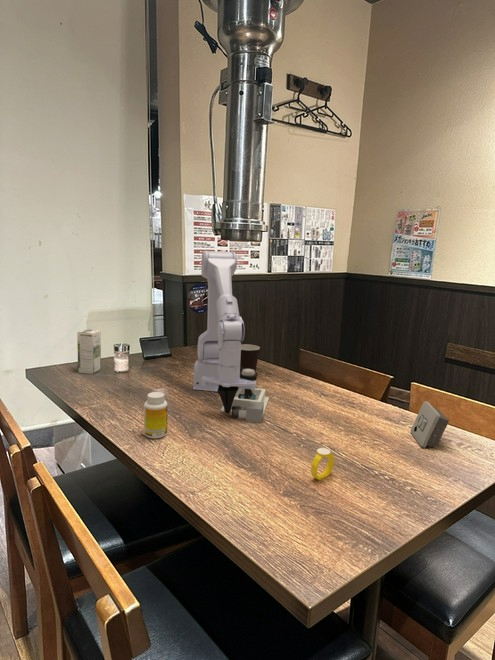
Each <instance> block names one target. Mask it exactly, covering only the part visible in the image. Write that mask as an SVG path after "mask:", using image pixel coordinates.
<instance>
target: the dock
mask: <svg viewBox="0 0 495 660" xmlns="http://www.w3.org/2000/svg"><path fill="white" fill-rule="evenodd" d="M241 391H242V388H239V389H238V391H237V393H236V395H235V397H234V400H233V403H232V406H240V407H244V408H246V419H245V422H249V423H256V424H257V423H258V424H261V423H262V421H261V416H262V409H263V416H264V414H265V411H266V408H267V405H268V402H269V399H270V398H269V396H266V389H265V388H260V387H259V388H255V390H254V393H253V394H255V395H256V397H257V396H259V398H256V399H258V400H249V399H239V398H238V395H239V394H241ZM232 406H231V411H230V413H229V414H232ZM220 413H225V411H224V406H223V405H222V407H221V408H220Z"/></svg>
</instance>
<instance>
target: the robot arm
mask: <svg viewBox="0 0 495 660" xmlns="http://www.w3.org/2000/svg"><path fill="white" fill-rule="evenodd" d="M237 266H238V257H237V253H236V252H235V251H216V250H215V251H213V250H204V251H203V252H202V254H201V266H200V267H201V273H200V274H201V276H202V278H205V279H206V280H207V286H208V287H207V328H206V330H205V331H204V332H202V333H201V334H200V335H199V336H198V338H197V339H198V340H197V348H196V349H197V353H196V354H197V358H198V359H196V360H195V363H194V367H193V386H192V387H193V388H192V389H193V390H196V391H206V392H217V394H218V395H219V397H220V400H221V402H222V407H223V406H224V411H225V412H224V414H231V413H230V411H231V406H232V403H233V400H234V397H235V395H236V393H237V391H238V389H239V388H244V389H251V390H255V388H256V387H257V381H256V380H255V381H250V380H245V379H241V378H240V358H241V345H242V342H243V341H244V340H245V339H244V338H245V331H246V330H245V323H244V320H243V318H242V316H240V311H239V304H238V299H237V298H236V296H234V295H233V285H232V281H233V280H232V276H234V275H235V272H236V271H237V268H238V267H237Z"/></svg>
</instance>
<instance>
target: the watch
mask: <svg viewBox="0 0 495 660" xmlns="http://www.w3.org/2000/svg"><path fill="white" fill-rule="evenodd" d="M323 458H327V464H326V466H325V468H324V470H323V472H321V473H319V474H318V468H319V465H320V462H321V461H322V459H323ZM334 464H335V456H334V454H333V453H332V452H331V450H330V449H328V448H325V447H319V448H318V449H317V450H316V454H315V456H314V458H313V460H312V462H311V467H310V473H311V476H312V477H313V478H314V479H316V480H318V481H321V480H324V479H326V478H328V477H329V476H330V475H331V473H332V471H333V468H334V466H335V465H334Z"/></svg>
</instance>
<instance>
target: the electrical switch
mask: <svg viewBox="0 0 495 660" xmlns="http://www.w3.org/2000/svg"><path fill="white" fill-rule="evenodd" d="M449 422H450V420H449V419H448V418H447V416H445V415H444V413H443V412H442V411H440V409H439V408H437V407H434V406H433V405H432V404H431V403H430V402H429V401H426V400H425V401H423V403H422V405H421V406H420V408H419V411H418V413H417V415H416V417H415V419H414V422H413V424H412V425H411V428H410V434H411V435H412V436H413V438H414V439H415V441H416V443H418V444H419V446H420V447H421V448H423V449H425V448H426V447H431V448H433V449H437V447H438V445H439V443H440V442H441V438H442V437H443V435H444V432H445V430H446V428H447V427H448V425H449Z"/></svg>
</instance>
